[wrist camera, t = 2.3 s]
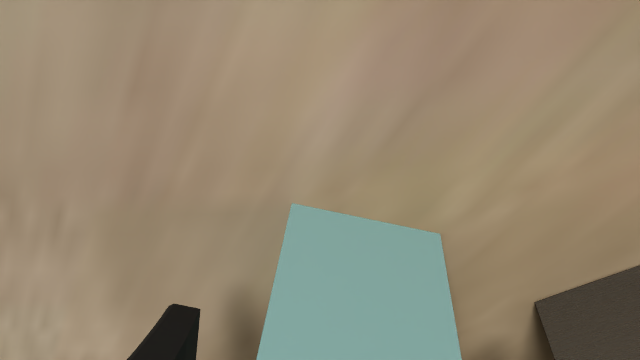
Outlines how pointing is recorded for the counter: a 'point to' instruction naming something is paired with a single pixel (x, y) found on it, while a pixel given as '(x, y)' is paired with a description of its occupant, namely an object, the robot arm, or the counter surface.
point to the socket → (595, 319)
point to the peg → (358, 292)
